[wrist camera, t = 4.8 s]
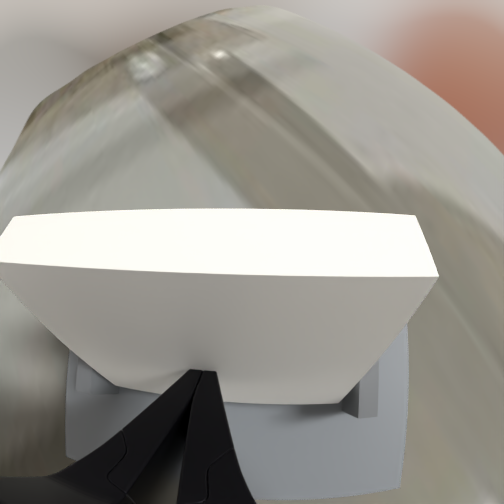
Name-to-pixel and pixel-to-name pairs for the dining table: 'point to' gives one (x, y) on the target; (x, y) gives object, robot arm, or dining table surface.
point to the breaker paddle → (223, 294)
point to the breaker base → (277, 431)
